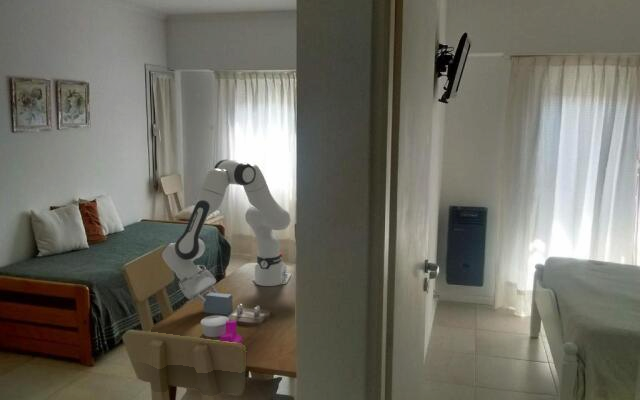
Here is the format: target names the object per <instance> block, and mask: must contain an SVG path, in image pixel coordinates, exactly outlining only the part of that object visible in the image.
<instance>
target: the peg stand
mask: <svg viewBox="0 0 640 400" xmlns="http://www.w3.org/2000/svg"><path fill="white" fill-rule="evenodd" d="M271 316H273V310H265V309H261V308H260V305H256V307H254V308H247V307H243V303H238V305H236V309H235V310H233V312H232V313H231V314H229V315H226V317H228V318H229V320H236V325H241V326H245V327H246V326H247V327H248V326H249V327H256V328H260V327H261V326H262V325H263V324H264V323H265V322H266V321H267V320H268V319H269V318H270V317H271ZM260 325H261V326H260Z"/></svg>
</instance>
